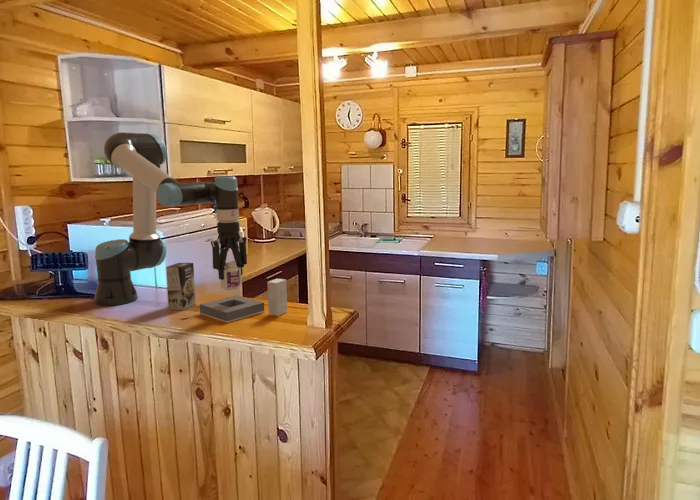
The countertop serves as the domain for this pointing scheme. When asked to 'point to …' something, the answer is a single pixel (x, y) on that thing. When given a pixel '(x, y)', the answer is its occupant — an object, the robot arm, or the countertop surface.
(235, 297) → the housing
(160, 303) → the countertop surface
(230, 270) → the pill bottle
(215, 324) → the countertop surface
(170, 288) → the coffee box
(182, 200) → the robot arm
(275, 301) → the skincare box
